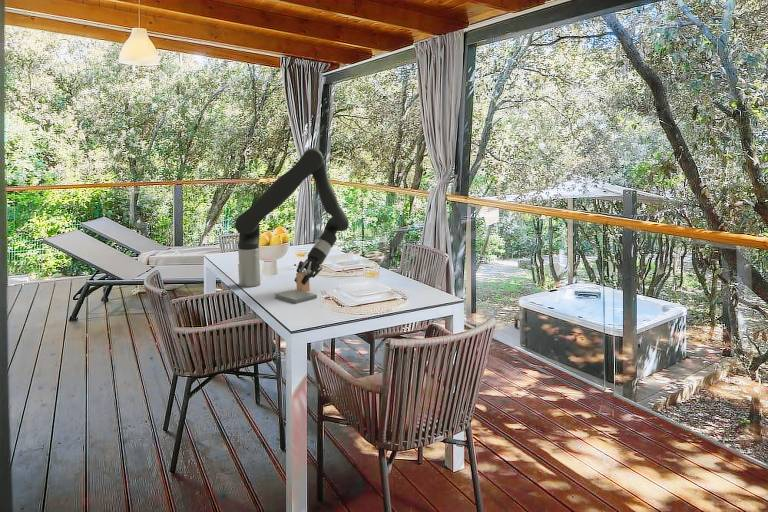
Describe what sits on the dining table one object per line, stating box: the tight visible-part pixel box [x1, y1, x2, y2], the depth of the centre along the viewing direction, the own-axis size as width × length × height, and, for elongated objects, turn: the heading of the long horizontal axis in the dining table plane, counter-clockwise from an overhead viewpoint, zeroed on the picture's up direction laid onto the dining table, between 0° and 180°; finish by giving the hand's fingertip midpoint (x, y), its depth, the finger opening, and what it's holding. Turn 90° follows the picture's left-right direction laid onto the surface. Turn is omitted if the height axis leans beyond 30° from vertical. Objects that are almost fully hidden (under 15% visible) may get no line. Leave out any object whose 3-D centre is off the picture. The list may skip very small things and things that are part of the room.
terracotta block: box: [295, 271, 310, 292], centre depth 240 cm, size 4×4×8 cm
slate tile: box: [274, 288, 318, 304], centre depth 229 cm, size 14×11×2 cm
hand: (299, 282), depth 239 cm, fingers closed on terracotta block, 4 cm apart
